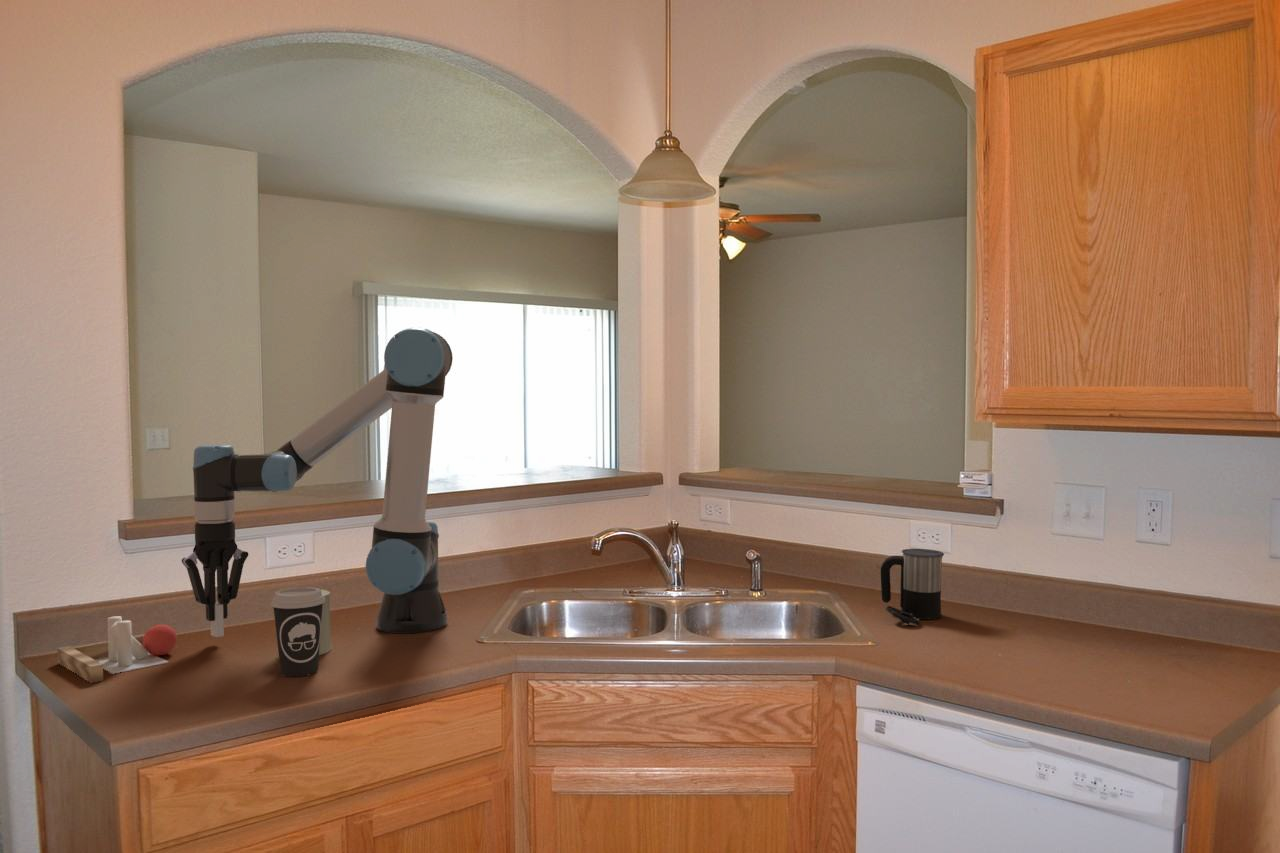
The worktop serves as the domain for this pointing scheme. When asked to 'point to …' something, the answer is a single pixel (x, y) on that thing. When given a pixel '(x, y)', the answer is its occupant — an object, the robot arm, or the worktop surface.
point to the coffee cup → (298, 629)
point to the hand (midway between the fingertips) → (217, 635)
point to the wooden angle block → (87, 659)
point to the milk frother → (915, 584)
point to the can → (325, 625)
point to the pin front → (137, 647)
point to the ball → (160, 639)
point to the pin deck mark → (137, 664)
